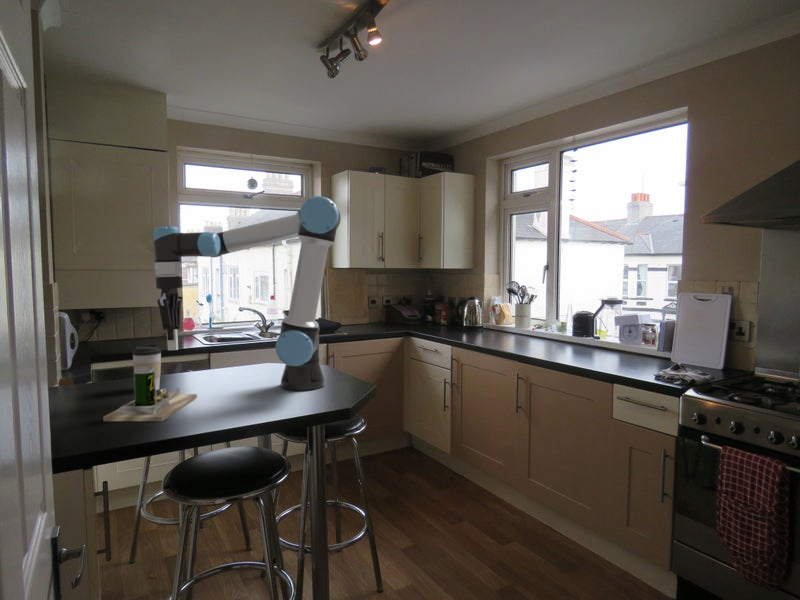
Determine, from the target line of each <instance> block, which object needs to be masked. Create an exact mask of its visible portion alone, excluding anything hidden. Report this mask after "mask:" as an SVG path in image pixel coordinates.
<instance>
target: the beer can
mask: <svg viewBox="0 0 800 600" xmlns="http://www.w3.org/2000/svg"><path fill="white" fill-rule="evenodd" d="M134 370H135V371H134ZM155 392H156V390H155V371H154V367H149V366H147V367H138V368H135V369H134V368H133V393H134V396H133V397H134V400H135V406H153V405H154V404H156V397H155Z"/></svg>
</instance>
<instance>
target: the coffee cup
mask: <svg viewBox="0 0 800 600" xmlns="http://www.w3.org/2000/svg"><path fill="white" fill-rule="evenodd" d="M161 353H162V348H159V347H158V345H156V344H149V345H141V346H136V347H135V348H134V350H132V353H131V355H132V359H133V361H132V365H133V372H134V371H135V370H134V369H135V368H138V367H147V366H149V367H154V371H155V391H156V390H158V389H160V380H161V373H162V371H161V367H162V359H161V358H162V354H161Z"/></svg>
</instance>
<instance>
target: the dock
mask: <svg viewBox="0 0 800 600" xmlns="http://www.w3.org/2000/svg"><path fill="white" fill-rule="evenodd" d="M161 389H162V391H167V388H165V387H163V388H161ZM155 394H156V391H155ZM165 397H166V398H158V399H157V403H156V404H154V405H153V406H135V399H133V400H132V401H131V400H130V401H129V402H127V403H125V404H123V405H122V406H120V407H119V408H118V409H116V410H114V411H112V412H110V413H108V414H106V415H104V416H103V419H102V421H103V422H164V420H166V419H168V418H169V417H171V416H173V415H174V414H175V413H176V412H178V411H180V410H181V409H183V408H184V407H186V406H187V405H188V404H190V403H191V402H193V401H195V400H196V399H197V398H198V395H197V393H196V394H195V393H194V394H193V393H181V392H180V387H179V388H178V387H176V388H174V389H172V390H171V391H168V393H167V394H165Z"/></svg>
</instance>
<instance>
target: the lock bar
mask: <svg viewBox="0 0 800 600" xmlns="http://www.w3.org/2000/svg"><path fill="white" fill-rule="evenodd" d="M162 389H163V388H159V389H158V390H155V392H156V394H155V397H156V403H157V399H158V398H166V397H165V394H167V393H169V391H168V390H166V391H162Z"/></svg>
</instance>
